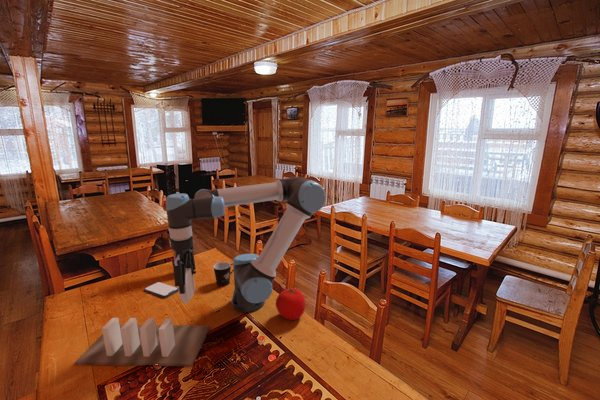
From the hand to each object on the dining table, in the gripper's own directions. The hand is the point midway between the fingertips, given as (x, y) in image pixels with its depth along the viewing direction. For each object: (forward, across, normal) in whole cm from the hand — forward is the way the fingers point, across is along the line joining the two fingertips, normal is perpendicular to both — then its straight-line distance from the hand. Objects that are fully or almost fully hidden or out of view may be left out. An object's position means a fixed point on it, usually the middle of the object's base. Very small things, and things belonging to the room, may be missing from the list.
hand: (187, 295), depth 113 cm
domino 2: (+16, +10, -18) cm, 26 cm away
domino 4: (+16, +10, -5) cm, 20 cm away
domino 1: (+16, +10, -24) cm, 31 cm away
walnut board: (+17, +6, -14) cm, 23 cm away
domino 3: (+16, +10, -11) cm, 22 cm away
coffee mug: (+18, -40, +3) cm, 44 cm away
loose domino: (+1, 0, 0) cm, 1 cm away
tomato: (+18, -12, +38) cm, 43 cm away
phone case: (+18, -32, -28) cm, 46 cm away
